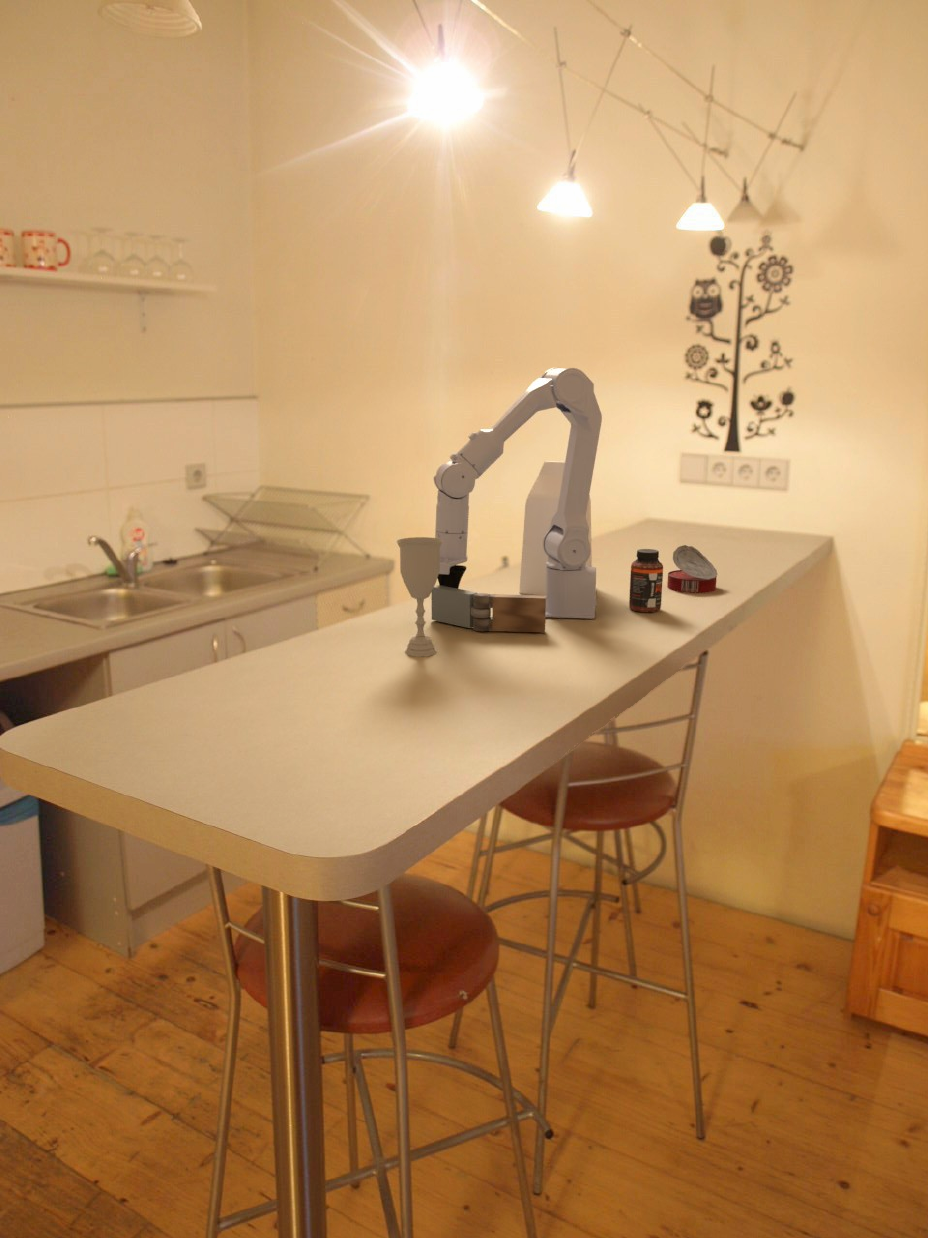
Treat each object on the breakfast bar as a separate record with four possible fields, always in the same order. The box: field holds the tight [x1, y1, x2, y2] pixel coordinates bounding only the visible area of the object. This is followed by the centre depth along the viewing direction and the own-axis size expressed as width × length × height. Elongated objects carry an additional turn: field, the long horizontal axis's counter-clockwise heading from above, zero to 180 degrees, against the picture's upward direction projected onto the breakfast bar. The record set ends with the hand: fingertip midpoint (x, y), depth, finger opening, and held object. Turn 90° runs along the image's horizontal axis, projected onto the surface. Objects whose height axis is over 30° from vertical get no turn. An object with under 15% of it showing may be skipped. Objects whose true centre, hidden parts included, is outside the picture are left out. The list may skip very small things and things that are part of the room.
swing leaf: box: [431, 584, 492, 629], centre depth 175 cm, size 12×3×6 cm, turn 49°
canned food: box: [666, 544, 718, 594], centre depth 205 cm, size 11×10×10 cm
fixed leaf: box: [472, 592, 547, 633], centre depth 171 cm, size 12×3×6 cm, turn 83°
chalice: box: [396, 536, 443, 657], centre depth 158 cm, size 7×7×18 cm
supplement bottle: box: [628, 548, 664, 613], centre depth 186 cm, size 6×6×11 cm
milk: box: [519, 460, 593, 596], centre depth 201 cm, size 12×12×26 cm
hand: (448, 605), depth 180 cm, fingers closed, pressing on swing leaf
